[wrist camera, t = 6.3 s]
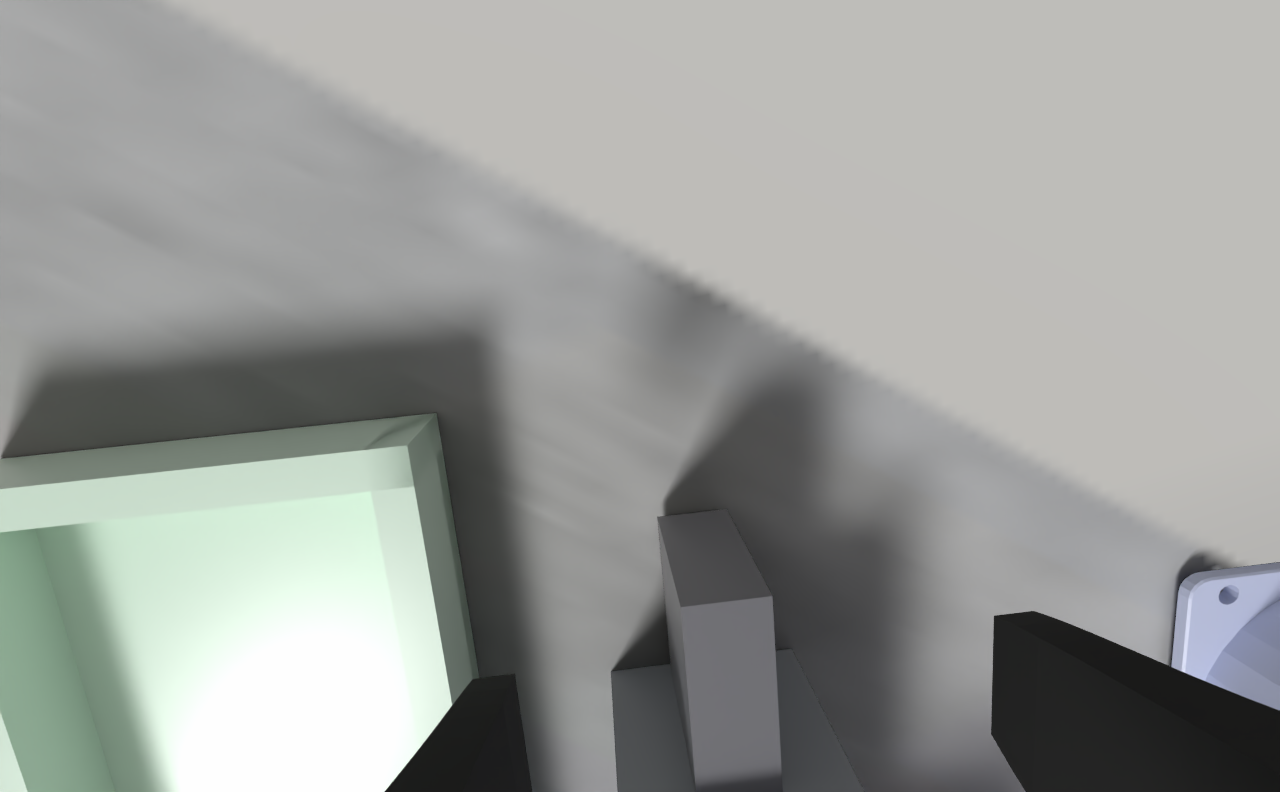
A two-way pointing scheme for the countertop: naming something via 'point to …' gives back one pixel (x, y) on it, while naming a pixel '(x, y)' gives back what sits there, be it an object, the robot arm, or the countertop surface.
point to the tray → (230, 611)
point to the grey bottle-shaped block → (721, 683)
